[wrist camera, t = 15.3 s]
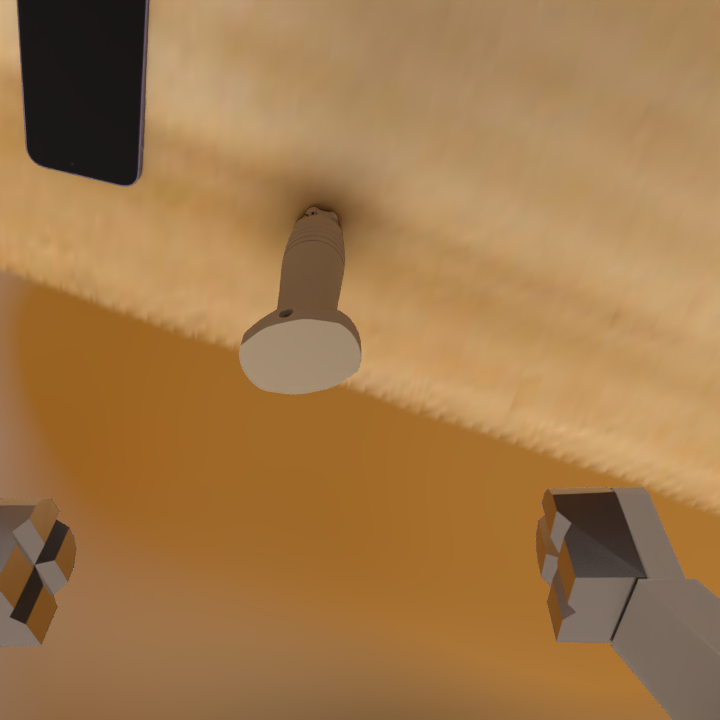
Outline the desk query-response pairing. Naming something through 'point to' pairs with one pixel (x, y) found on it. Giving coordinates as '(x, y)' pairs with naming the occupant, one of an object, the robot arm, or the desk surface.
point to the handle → (305, 316)
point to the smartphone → (85, 85)
